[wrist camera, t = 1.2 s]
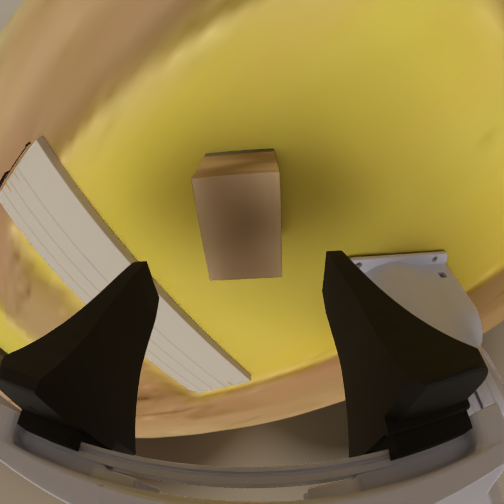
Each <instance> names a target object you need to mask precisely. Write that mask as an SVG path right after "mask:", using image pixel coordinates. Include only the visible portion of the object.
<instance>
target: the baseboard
mask: <svg viewBox="0 0 504 504" xmlns="http://www.w3.org/2000/svg"><path fill="white" fill-rule="evenodd" d="M29 144H31V143H30V142H29V143H28V144H26V145H25V146H26V147H27V146H28V145H29ZM26 147H25V148H26ZM24 150H25V149H24ZM24 150H23V151H24ZM23 151H22V153H23ZM22 153H21V154H22ZM21 154H20V156H21ZM20 156H19V157H20ZM19 157H18V158H19ZM17 160H18V159H17ZM17 160H16V161H17ZM15 163H16V162H15ZM15 163H14V164H15ZM13 166H14V165H13ZM13 166H12V167H13ZM11 169H12V168H11ZM11 169H10V170H11ZM9 172H10V171H7V172H5V173H4V175H3V178H2V179H1V181H0V187H1V185H2V184H1V183H3V182H4V180H5V179H4V178H6V177H7V176H6V175H8V174H9ZM5 176H6V177H5ZM0 203H1V204H2V206H3V207H4V209H5V210H6V211H7V213H8V214H9V216H10V217H11V218H12V220H13V221H14V223H15V224H16V225H17V227H18V228H19V229H20V231H21V232H22V233H23V235H24V236H25V237H26V238H27V240H28V241H29V242H30V243H31V245H32V246H33V247H34V248H35V250H36V251H37V252H38V253H39V254H40V256H41V257H42V258H43V259H44V260H45V261H46V263H47V264H48V265H49V266H50V267H51V268H52V269H53V271H54V272H55V273H56V274H57V275H58V276H59V277H60V278H61V279H62V281H63V282H64V283H65V284H66V285H67V286H68V287H69V288H70V289H71V290H72V291H73V292H74V293H75V294H76V295H77V296H78V297H79V298H80V299H81V300H82V301H83V302H84V303H85V304H86V305H87V304H88V303H89V302H90V301H91V300H92V299H93V298H94V297H96V296H97V295H98V294H99V293H100V292H101V291H102V290H103V289H104V288H105V287H106V286H107V285H108V284H110V283H111V282H112V281H113V280H114V279H115V278H116V277H117V276H118V275H119V274H120V273H121V272H122V271H123V270H125V269H126V268H127V267H128V266H129V265H130V264H132V263H133V262H138V261H137V260H136V259H135V258H134V256H133V255H132V254H131V253H130V252H129V251H128V250H127V248H126V247H125V246H124V245H123V244H122V242H121V241H120V240H119V239H118V238H117V236H116V235H115V234H114V233H113V232H112V230H111V229H110V228H109V227H108V225H107V224H106V223H105V222H104V220H103V219H102V218H101V217H100V215H99V214H98V213H97V212H96V210H95V209H94V208H93V206H92V205H91V204H90V203H89V201H88V200H87V199H86V197H85V196H84V195H83V193H82V192H81V191H80V189H79V188H78V187H77V185H76V184H75V182H74V181H73V180H72V178H71V177H70V176H69V174H68V173H67V171H66V170H65V168H64V167H63V166H62V164H61V163H60V161H59V160H58V158H57V157H56V155H55V154H54V152H53V151H52V149H51V148H50V146H49V145H48V143H47V142H46V140H45V139H44V137H43V136H42V137H40V138H38V139H36V140H35V141H34V143H33V144H32V145H31V147H30V148H29V149H28V151H27V152H26V153H25V155H24V156H23V158H22V160H21V161H20V163H19V164H18V165H17V167H16V168H15V169H14V171H13V173H12V174H11V176H10V178H9V179H8V180H7V182H6V184H5V186H4V187H3V189H2V190H1V192H0ZM152 279H153V278H152ZM153 282H154V284H155V287H156V290H157V293H158V295H159V304H158V310H157V315H156V320H155V323H154V327H153V330H152V333H151V336H150V340H149V343H148V346H147V350H146V353H145V356H144V357H146V358H147V359H148V360H150V361H151V362H152V363H153V364H155V365H156V366H157V367H159V368H160V369H161V370H163V371H164V372H165V373H167V374H168V375H169V376H171V377H172V378H173V379H175V380H176V381H178V382H179V383H180V384H182V385H183V386H185V387H186V388H188V389H189V390H190V391H193V390H194V391H196V392H197V393H202V392H204V391H208V390H214V389H218V388H225V387H226V386H231V385H237V384H241V383H245V382H249V381H251V374H250V373H248V372H247V371H246V370H245V369H244V368H243V367H242V366H241V365H239V364H238V363H237V362H236V361H235V360H234V359H233V358H232V357H231V356H230V355H229V354H227V353H226V352H225V351H224V350H223V349H222V348H221V347H220V346H219V345H218V344H217V343H216V342H215V341H214V340H213V339H212V338H210V337H209V336H208V335H207V334H206V333H205V332H204V331H203V330H202V329H201V328H200V327H199V326H198V325H197V324H196V323H195V322H194V321H193V320H192V319H191V318H190V317H189V316H188V315H187V314H186V313H185V312H184V311H183V310H182V309H181V308H180V307H179V306H178V305H177V304H176V302H175V301H174V300H173V299H172V298H171V297H170V296H169V295H168V294H167V293H166V292H165V291H164V290H163V289H162V288H161V287H160V286H159V284H158V283H157V282H156V281H155V280H154V279H153Z"/></svg>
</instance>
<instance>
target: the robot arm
mask: <svg viewBox="0 0 504 504" xmlns="http://www.w3.org/2000/svg"><path fill="white" fill-rule="evenodd" d="M447 258H448V254H447V253H446V252H445V251H439V252H425V253H411V254H397V255H382V256H366V257H352V258H348V257H347V256H346V254H345V253H343V252H342V251H326V261H325V271H324V280H323V289H322V292H323V298H324V304H325V309H326V314H327V318H328V321H329V324H330V328H331V331H332V335H333V338H334V341H335V345H336V348H337V352H338V356H339V359H340V364H341V369H342V375H343V382H344V390H345V398H346V407H347V418H348V419H347V420H348V435H349V436H348V437H349V458H345V459H339V460H333V461H326V462H319V463H311V464H301V465H290V466H275V467H221V466H220V467H219V466H204V465H193V464H183V463H175V462H168V461H161V460H155V459H148V458H144V457H138V456H134V455H135V454H136V451H135V417H136V403H137V393H138V385H139V378H140V372H141V367H142V363H143V360H144V356H145V353H146V350H147V346H148V343H149V340H150V336H151V333H152V330H153V327H154V323H155V320H156V315H157V310H158V304H159V295H158V293H157V290H156V287H155V284H154V282H153V279H152V276H151V273H150V270H149V267H148V264H147V261H143V262H133V263H132V264H130V265H129V266H128V267H127V268H126V269H125V270H123V271H122V272H121V273H120V274H119V275H118V276H117V277H116V278H115V279H114V280H113V281H112V282H111V283H110V284H108V285H107V286H106V287H105V288H104V289H103V290H102V291H101V292H100V293H99V294H98V295H97V296H96V297H94V298H93V299H92V300H91V301H90V302H89V303H88V304H87V305H86V306H84V307H83V308H82V309H81V310H80V311H78V312H77V313H76V314H75V315H73V316H72V317H71V318H70V319H68V320H67V321H66V322H64V323H63V324H61V325H60V326H58V327H57V328H55V329H54V330H52V331H51V332H49V333H48V334H46V335H45V336H43V337H41V338H40V339H38V340H36V341H34V342H33V343H31V344H29V345H27V346H25V347H23V348H21V349H19V350H16V351H14V352H12V353H10V354H7V355H5V356H4V358H3V360H2V362H1V364H0V390H1V391H2V392H3V393H4V394H5V395H6V396H8V397H9V398H10V399H11V400H12V401H13V402H14V403H15V404H17V405H18V406H19V407H20V408H21V409H22V411H21V414H19V413H17V412H16V411H14V410H12V409H10V408H8V407H6V406H4V405H2V404H0V461H1V462H3V463H4V464H5V465H7V466H8V467H9V468H11V469H12V470H13V471H15V472H16V473H18V474H19V475H21V476H22V477H24V478H25V479H26V480H28V481H30V482H32V483H33V484H34V485H36V486H37V487H39V488H41V489H42V490H44V491H46V492H47V493H49V494H51V495H53V496H54V497H56V498H58V499H60V500H61V501H63V502H65V503H67V504H504V501H503V498H502V494H501V492H500V489H499V486H498V483H497V479H498V478H499V476H500V475H501V473H502V472H503V471H504V384H503V382H502V380H501V378H500V376H499V374H498V372H497V370H496V368H495V366H494V364H493V362H492V361H491V359H490V357H489V356H488V354H487V353H486V351H485V350H484V349H483V348H482V347H481V343H482V324H481V320H480V316H479V313H478V311H477V309H476V307H475V305H474V304H473V302H472V301H471V299H470V298H469V296H468V295H467V293H466V292H465V290H464V289H463V287H462V286H461V284H460V283H459V282H458V280H457V279H456V277H455V276H454V275H453V273H452V272H451V270H450V269H449V268H448V266H447V265H446V261H447ZM359 262H360V264H358V265H356V264H357V263H359ZM114 470H115V471H119V472H123V473H127V474H131V475H136V476H140V477H145V478H150V479H155V480H161V481H167V482H173V483H180V484H188V485H198V486H209V487H224V488H275V487H292V486H303V485H312V484H319V483H327V482H333V481H338V482H333V483H329V484H324V485H319V486H314V487H310V488H309V489H308V492H307V493H305V494H304V500H296V501H272V502H250V501H246V502H245V501H225V500H211V499H201V498H192V497H184V496H177V495H170V494H164V493H160V489H159V488H157V487H153V486H151V485H148V484H145V483H143V482H140V481H138V480H137V479H135V478H132V477H129V476H126V475H122V474H119V473H116V472H114ZM350 478H351V479H350ZM345 479H346V480H345ZM339 480H342V481H339Z"/></svg>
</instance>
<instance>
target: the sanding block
mask: <svg viewBox="0 0 504 504" xmlns="http://www.w3.org/2000/svg"><path fill="white" fill-rule="evenodd" d="M191 180H192V186H193V192H194V198H195V204H196V209H197V215H198V220H199V226H200V231H201V237H202V242H203V247H204V252H205V257H206V262H207V267H208V272H209V277H210V280H232V279H253V278H272V277H282V243H281V200H280V172H279V168H278V164H277V160H276V156H275V152H274V149H258V150H243V151H230V152H219V153H209V154H206V155H205V156H204V158H203V160H202V161H201V163H200V165H199V166H198V168H197V170H196V171H195V173H194V175H193V176H192V178H191Z"/></svg>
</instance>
